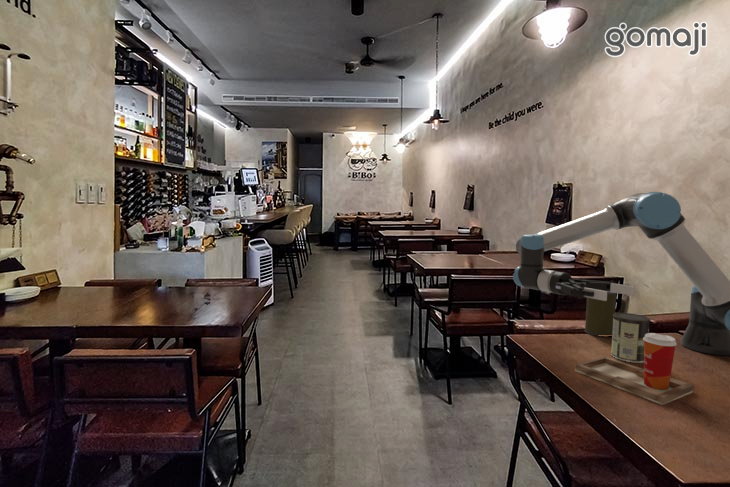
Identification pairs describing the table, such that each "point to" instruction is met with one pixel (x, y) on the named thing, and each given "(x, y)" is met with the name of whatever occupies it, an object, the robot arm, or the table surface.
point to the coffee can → (629, 337)
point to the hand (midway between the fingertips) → (620, 293)
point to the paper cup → (658, 360)
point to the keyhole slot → (631, 379)
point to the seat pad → (655, 389)
